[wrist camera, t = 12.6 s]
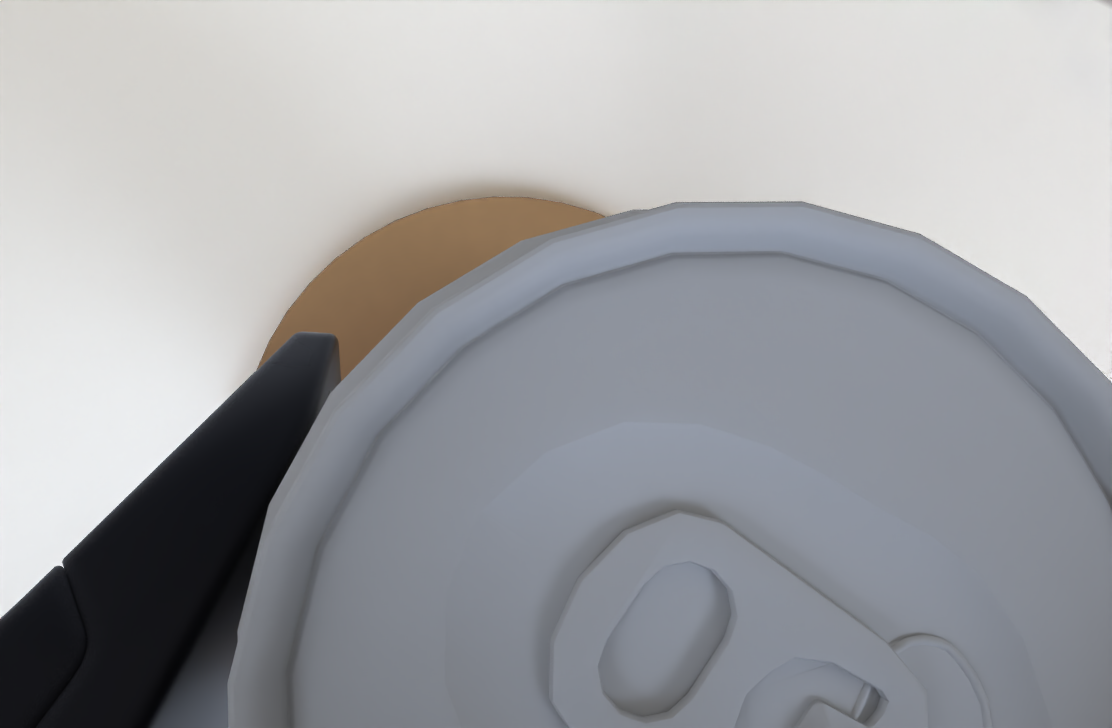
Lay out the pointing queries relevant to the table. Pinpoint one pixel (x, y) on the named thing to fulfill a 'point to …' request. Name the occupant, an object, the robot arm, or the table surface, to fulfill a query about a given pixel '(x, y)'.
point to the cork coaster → (413, 267)
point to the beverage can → (697, 496)
